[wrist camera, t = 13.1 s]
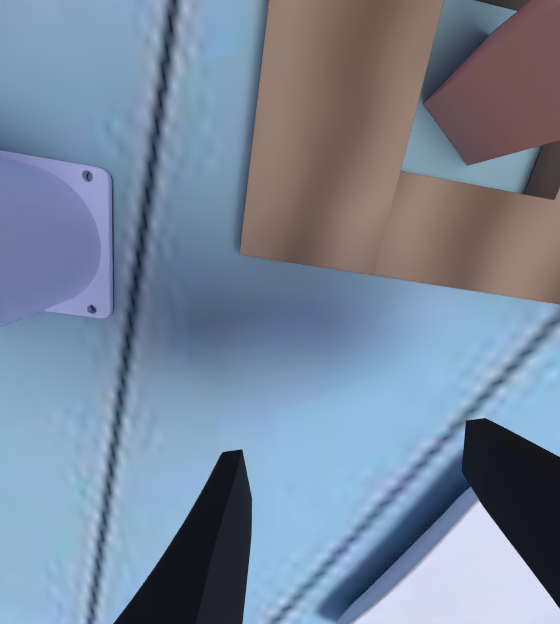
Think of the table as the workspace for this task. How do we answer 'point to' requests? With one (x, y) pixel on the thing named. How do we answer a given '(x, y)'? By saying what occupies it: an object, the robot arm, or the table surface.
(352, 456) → the table surface
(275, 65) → the jig board
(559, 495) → the robot arm
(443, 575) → the salad plate
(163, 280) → the table surface
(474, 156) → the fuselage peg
